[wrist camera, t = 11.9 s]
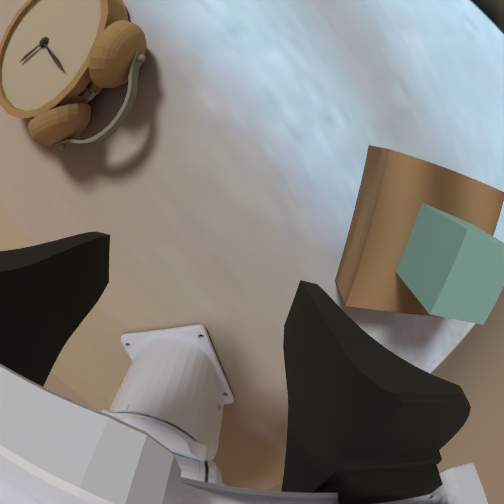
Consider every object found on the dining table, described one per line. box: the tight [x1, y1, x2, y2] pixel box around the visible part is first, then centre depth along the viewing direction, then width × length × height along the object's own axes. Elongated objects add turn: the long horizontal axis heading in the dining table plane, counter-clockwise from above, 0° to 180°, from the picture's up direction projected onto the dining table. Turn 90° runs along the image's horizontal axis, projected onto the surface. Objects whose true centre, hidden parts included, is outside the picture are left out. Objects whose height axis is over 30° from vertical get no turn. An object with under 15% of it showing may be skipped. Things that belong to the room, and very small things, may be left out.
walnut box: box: [335, 145, 504, 317], centre depth 19 cm, size 10×10×4 cm
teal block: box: [395, 203, 504, 324], centre depth 15 cm, size 5×5×5 cm
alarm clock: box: [0, 0, 146, 151], centre depth 15 cm, size 11×5×15 cm
